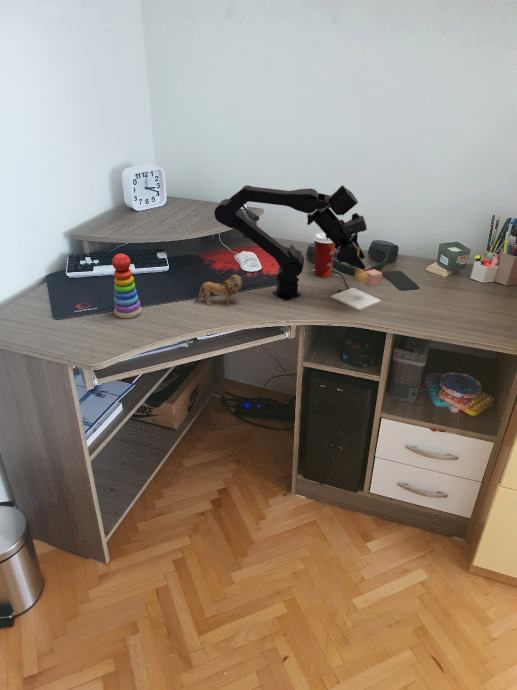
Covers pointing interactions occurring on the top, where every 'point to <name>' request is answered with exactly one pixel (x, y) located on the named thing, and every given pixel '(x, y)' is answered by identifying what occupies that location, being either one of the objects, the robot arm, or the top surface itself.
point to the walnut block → (363, 269)
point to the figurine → (360, 273)
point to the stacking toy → (125, 288)
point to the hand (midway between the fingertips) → (364, 263)
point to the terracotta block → (373, 277)
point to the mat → (356, 299)
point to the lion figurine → (221, 289)
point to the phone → (400, 280)
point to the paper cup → (323, 255)
